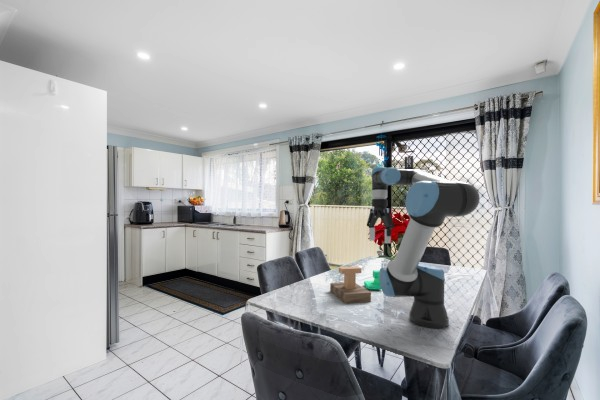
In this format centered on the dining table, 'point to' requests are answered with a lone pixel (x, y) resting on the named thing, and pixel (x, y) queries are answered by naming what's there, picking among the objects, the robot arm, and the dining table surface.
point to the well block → (350, 293)
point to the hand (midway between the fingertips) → (379, 241)
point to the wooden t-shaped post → (349, 276)
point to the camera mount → (375, 283)
